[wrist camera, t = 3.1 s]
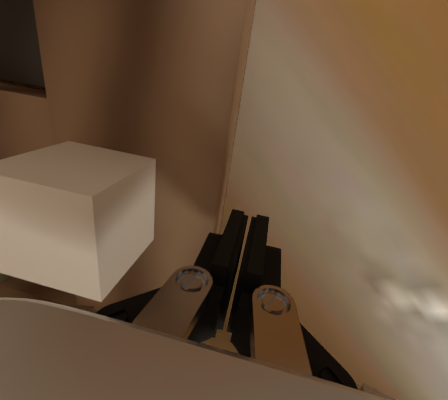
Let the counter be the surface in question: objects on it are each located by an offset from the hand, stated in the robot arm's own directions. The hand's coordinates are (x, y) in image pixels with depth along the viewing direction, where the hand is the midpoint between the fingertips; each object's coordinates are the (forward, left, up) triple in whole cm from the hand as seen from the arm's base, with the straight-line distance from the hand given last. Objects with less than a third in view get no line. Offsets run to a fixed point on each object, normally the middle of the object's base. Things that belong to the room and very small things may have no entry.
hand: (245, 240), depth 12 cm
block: (+8, 0, -2) cm, 8 cm away
